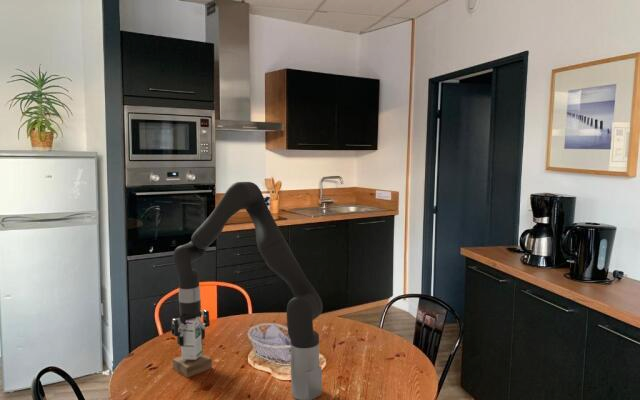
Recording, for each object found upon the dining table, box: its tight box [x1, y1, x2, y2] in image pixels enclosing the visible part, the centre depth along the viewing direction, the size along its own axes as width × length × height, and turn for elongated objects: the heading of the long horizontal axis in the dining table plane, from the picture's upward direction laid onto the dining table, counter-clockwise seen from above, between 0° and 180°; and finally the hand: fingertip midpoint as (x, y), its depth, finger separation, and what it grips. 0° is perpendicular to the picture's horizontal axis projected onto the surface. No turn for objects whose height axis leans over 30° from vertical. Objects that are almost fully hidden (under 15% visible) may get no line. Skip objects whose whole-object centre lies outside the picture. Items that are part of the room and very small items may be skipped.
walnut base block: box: [172, 353, 213, 378], centre depth 173 cm, size 10×10×4 cm
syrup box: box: [179, 317, 204, 360], centre depth 172 cm, size 6×6×14 cm
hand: (191, 342), depth 172 cm, fingers closed on syrup box, 8 cm apart
